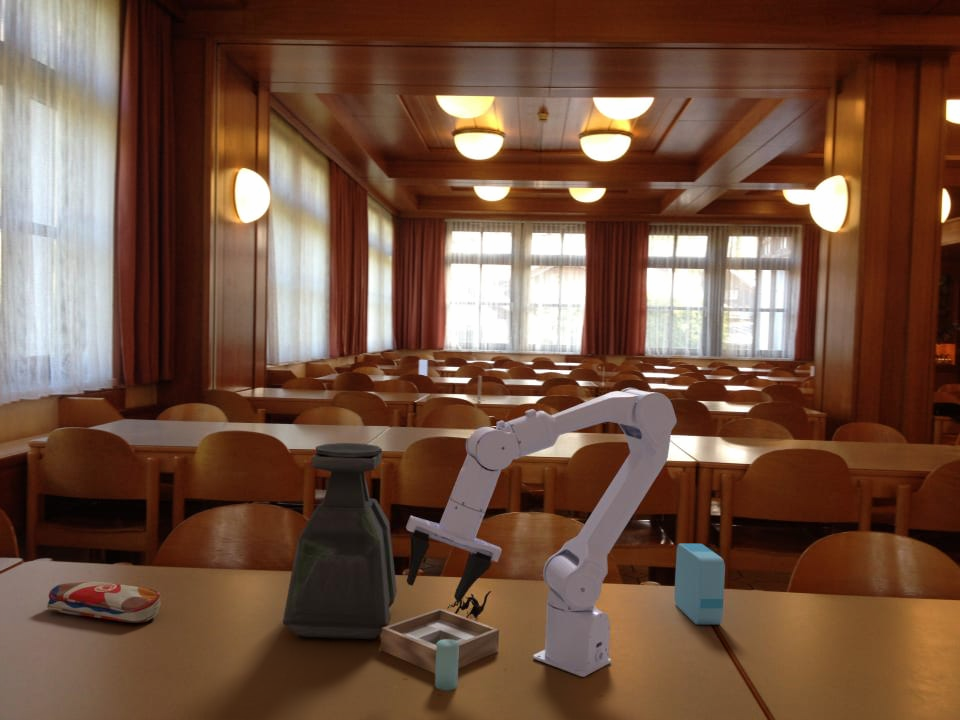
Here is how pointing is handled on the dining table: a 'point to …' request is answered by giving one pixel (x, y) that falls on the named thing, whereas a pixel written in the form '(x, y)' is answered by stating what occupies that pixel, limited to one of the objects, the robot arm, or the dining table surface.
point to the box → (438, 638)
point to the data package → (699, 583)
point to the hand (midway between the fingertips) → (433, 591)
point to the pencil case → (105, 601)
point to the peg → (446, 664)
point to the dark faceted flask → (343, 554)
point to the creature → (476, 608)
